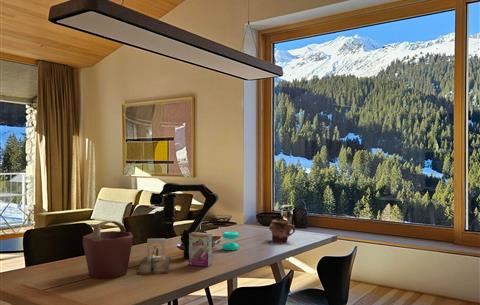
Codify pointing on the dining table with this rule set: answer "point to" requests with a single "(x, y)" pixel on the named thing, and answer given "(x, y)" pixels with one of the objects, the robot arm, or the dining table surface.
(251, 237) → the dining table surface
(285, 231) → the brown ceramic mug
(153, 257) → the bent copper wire
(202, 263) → the candy bar box
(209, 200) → the robot arm
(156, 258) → the hollow square tube
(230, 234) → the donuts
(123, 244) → the bucket
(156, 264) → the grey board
